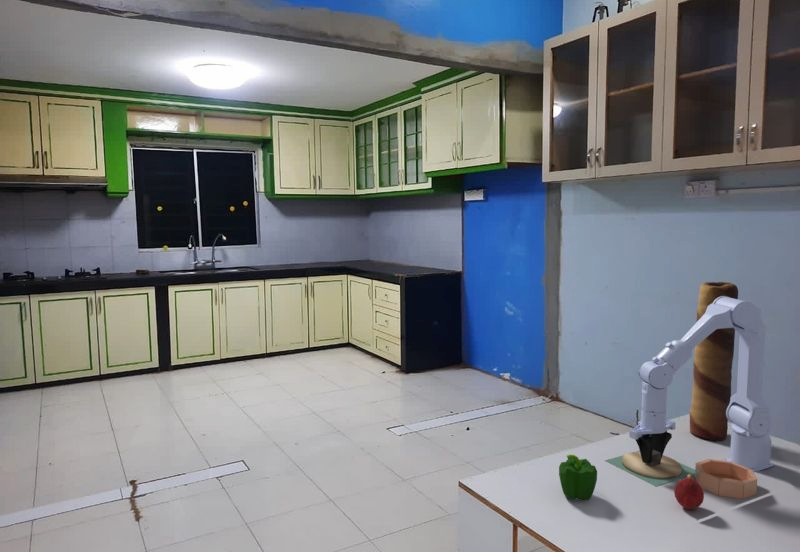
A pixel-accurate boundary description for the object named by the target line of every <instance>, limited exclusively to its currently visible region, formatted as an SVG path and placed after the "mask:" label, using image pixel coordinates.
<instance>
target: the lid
mask: <svg viewBox="0 0 800 552" xmlns="http://www.w3.org/2000/svg"><path fill="white" fill-rule="evenodd" d="M623 455H624V456H623V458H622V464H623V466H624V467H625V468H626V469H628V470H629V471H631V472H633V473H636V474H638V475H641V476H645V477H650V478H657V479H670V478H675V477H678V476H679V475H680V474H681V473H682V467H681V465H680V464H679V463H680V462H679V461H677V460H676V459H673V458H671V457H670V456H667V455H664V454H663V456H662V458H661V453H660V452H658V451H655V450H653V452H652V460H651V463H650V464H648V463H646V462H644V461H642V457H641V453H640V452H637V451H634V452H629V453H626V454H623ZM678 462H679V463H678Z"/></svg>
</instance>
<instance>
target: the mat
mask: <svg viewBox="0 0 800 552" xmlns="http://www.w3.org/2000/svg"><path fill="white" fill-rule="evenodd" d="M636 452H640V450H636ZM624 455H625V454H622V455H619V456H615V457H611V458H608V459H606V460H604V462H606V463H609V464H610V465H612V466H614V467H616V468H618V469H620V470H622V471H625V472H626V473H628V474H630V475H632V476H634V477H637V478H639V479H640V480H642V481H644V482H646V483H648V484H650V485H652V486H654V487H656V488H657V487H659V486H662V485H665V484H668V483H672V482H675V481H678V480H683V479H686V478H687V475H689V474H690V475H692V476H693V475H694V476H695V468H693V467H690V466H687V465H686V464H683V463H681V462H679V461H677V462H678V463H679V464H680V465H681V467H682V473H681V474H680V475H679V476H678V477H675V478H670V479H657V478H650V477H645V476H641V475H638V474H636V473H633V472H631V471H629V470H628V469H626V468H625V467H624V466H623V464H622V458H623V456H624Z"/></svg>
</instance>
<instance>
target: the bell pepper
mask: <svg viewBox="0 0 800 552" xmlns="http://www.w3.org/2000/svg"><path fill="white" fill-rule="evenodd" d="M566 457H567V459H566V461H561V462H560V463H559V466H558V476H559V477H558V478H559V483H560V485H561V489H562V491H563V492H562V493H563V494H564V496H565V497H567V498H568V499H569V500H580V501H584V502H586V501H589V500H590V499H591V497H592V496H593V494H594V492H595V488H596V484H597V481H598V470H597V468H596V466H595V465H593V464H591V462H590V461H589V459H587V458H582V459H581V458H579V456H576V455H575V454H567V455H566Z"/></svg>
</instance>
